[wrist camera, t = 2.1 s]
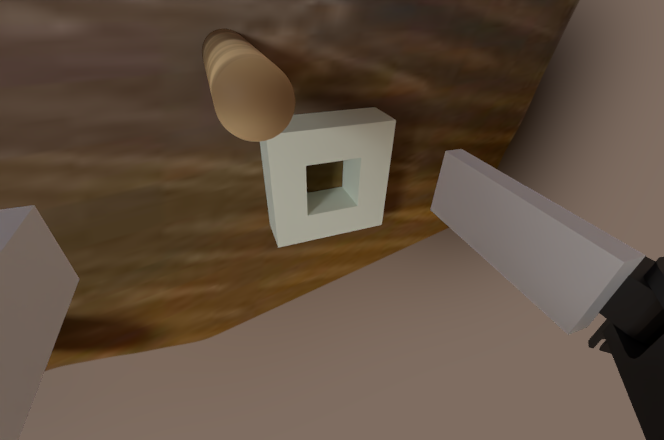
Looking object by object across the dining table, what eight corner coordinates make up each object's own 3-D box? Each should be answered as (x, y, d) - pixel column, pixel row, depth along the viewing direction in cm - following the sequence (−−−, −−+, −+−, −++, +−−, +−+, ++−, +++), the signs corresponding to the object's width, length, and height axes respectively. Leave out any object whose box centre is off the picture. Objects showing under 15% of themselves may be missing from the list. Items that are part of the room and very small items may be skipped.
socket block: (256, 118, 33) (265, 134, 30) (374, 106, 38) (396, 120, 34) (269, 224, 42) (278, 247, 38) (365, 205, 46) (381, 224, 42)
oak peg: (196, 29, 27) (205, 60, 15) (248, 28, 29) (292, 56, 17) (207, 82, 30) (222, 146, 18) (254, 79, 31) (296, 137, 19)
